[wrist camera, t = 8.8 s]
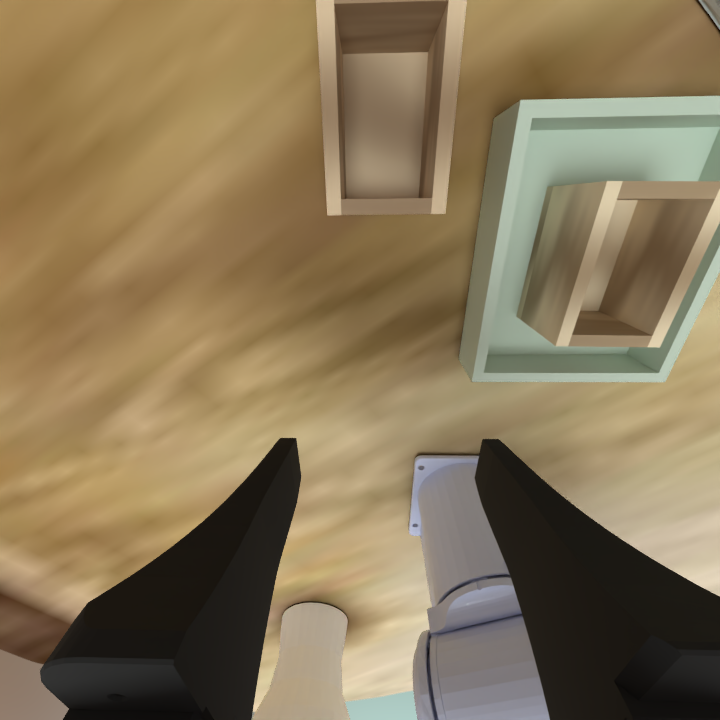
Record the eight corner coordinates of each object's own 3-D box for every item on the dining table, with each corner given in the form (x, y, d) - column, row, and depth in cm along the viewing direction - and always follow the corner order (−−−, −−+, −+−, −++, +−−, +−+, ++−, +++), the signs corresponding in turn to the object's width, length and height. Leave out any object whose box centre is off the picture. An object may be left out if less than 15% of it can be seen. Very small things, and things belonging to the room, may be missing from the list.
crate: (427, 211, 17) (445, 213, 13) (336, 212, 17) (327, 215, 13) (440, 39, 14) (469, -27, 10) (329, 42, 14) (314, -22, 10)
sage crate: (626, 359, 21) (664, 382, 18) (458, 359, 21) (471, 381, 18) (728, 113, 15) (808, 93, 12) (493, 118, 15) (520, 99, 13)
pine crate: (598, 317, 19) (659, 347, 15) (516, 316, 19) (555, 346, 15) (645, 187, 16) (739, 181, 12) (547, 186, 16) (607, 181, 12)
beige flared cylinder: (254, 602, 35) (186, 844, 22) (342, 587, 34) (325, 840, 20) (292, 645, 40) (254, 869, 26) (371, 634, 38) (373, 868, 25)
